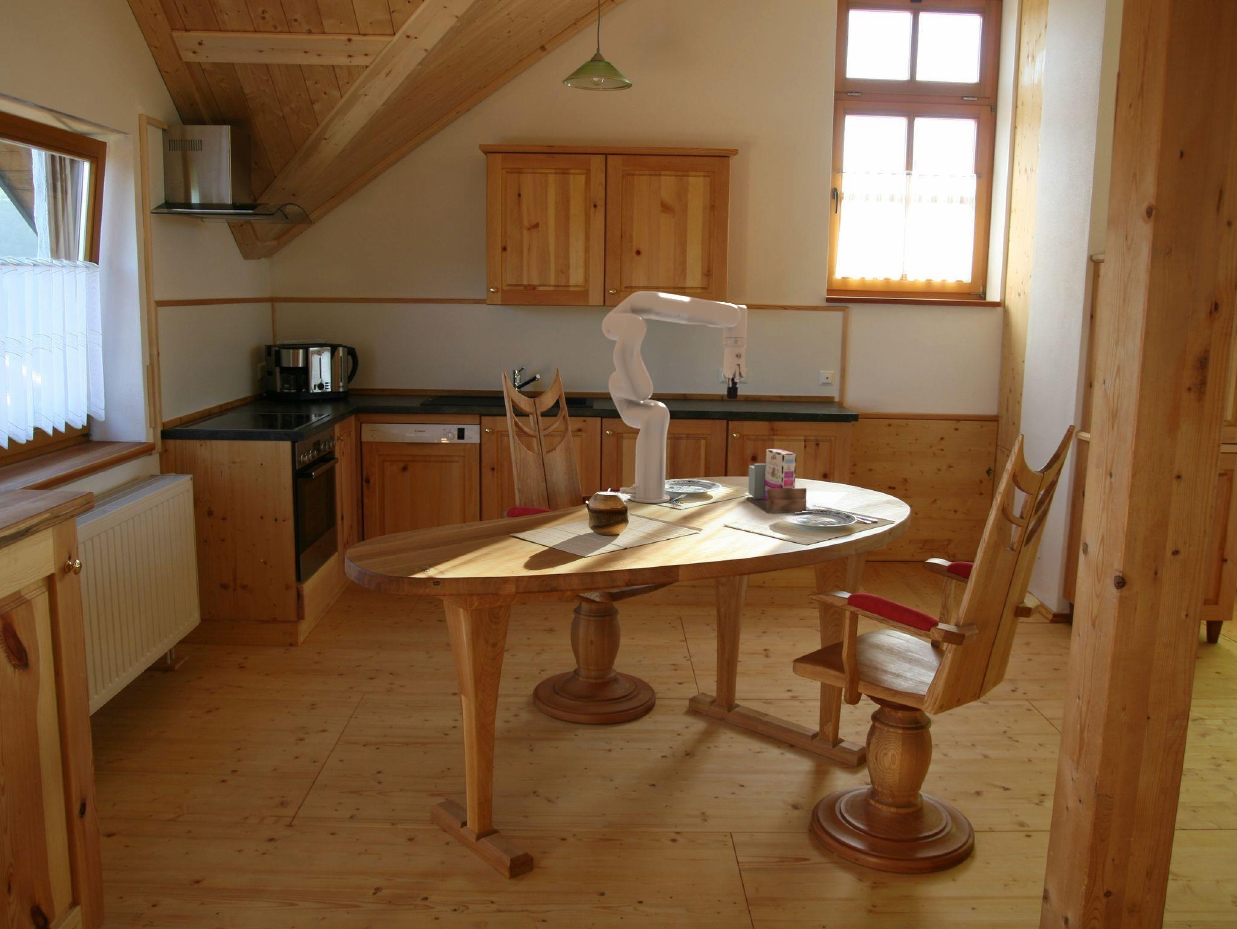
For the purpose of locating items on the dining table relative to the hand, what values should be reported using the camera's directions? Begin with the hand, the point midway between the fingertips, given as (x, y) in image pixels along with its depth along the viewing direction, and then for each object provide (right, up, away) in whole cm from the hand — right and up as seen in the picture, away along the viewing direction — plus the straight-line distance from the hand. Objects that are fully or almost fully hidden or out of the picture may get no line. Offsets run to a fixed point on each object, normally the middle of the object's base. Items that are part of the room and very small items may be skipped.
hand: (731, 398), depth 354 cm
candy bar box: (+13, -34, -20) cm, 41 cm away
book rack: (+12, -34, -19) cm, 41 cm away
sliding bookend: (+10, -32, -10) cm, 35 cm away
